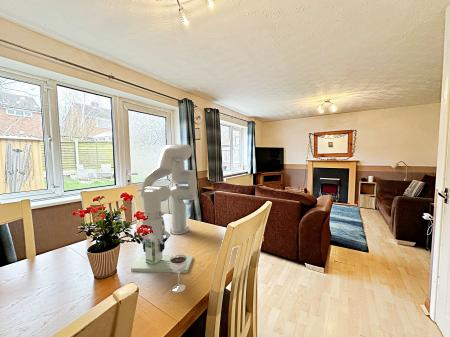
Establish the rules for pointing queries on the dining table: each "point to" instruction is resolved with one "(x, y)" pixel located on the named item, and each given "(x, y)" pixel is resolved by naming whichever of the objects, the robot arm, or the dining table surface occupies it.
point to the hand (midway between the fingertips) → (153, 250)
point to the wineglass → (178, 269)
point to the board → (158, 265)
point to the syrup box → (152, 249)
